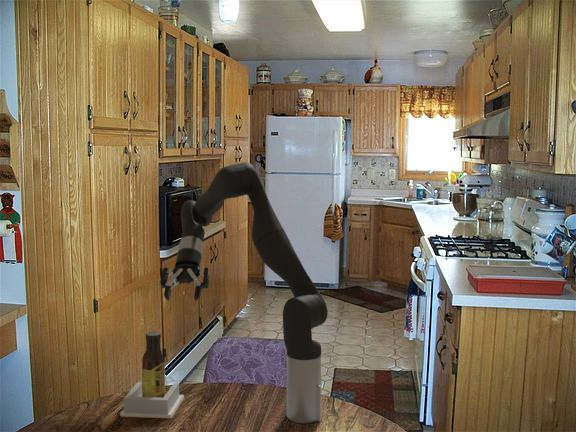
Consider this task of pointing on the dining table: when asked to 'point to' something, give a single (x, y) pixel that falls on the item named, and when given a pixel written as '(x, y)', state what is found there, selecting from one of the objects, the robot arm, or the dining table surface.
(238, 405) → the dining table surface
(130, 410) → the white open tray
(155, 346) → the sauce bottle
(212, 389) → the dining table surface
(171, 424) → the dining table surface
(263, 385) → the dining table surface
